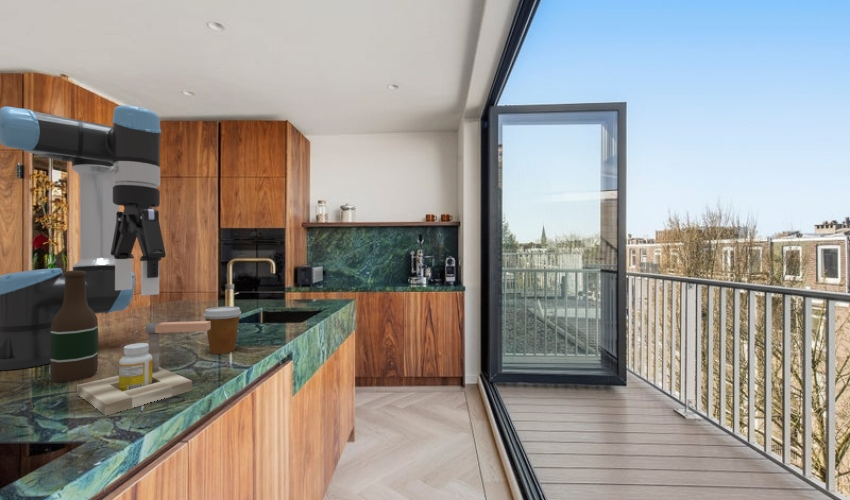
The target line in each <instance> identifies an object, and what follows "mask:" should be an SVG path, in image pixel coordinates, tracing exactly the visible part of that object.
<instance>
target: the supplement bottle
mask: <svg viewBox="0 0 850 500" xmlns="http://www.w3.org/2000/svg"><path fill="white" fill-rule="evenodd" d="M123 354H124V356H122V357H120V359H119V361H118V376H119V390H120V391H122V392H123V391H127V390H130V389H134V388H138V387H142V386H146V385H150V384H152V355H151V354H149V343H146V342H144V343H143V342H137V343H131V344H127V345H125V346H124V347H123Z"/></svg>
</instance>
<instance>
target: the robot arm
mask: <svg viewBox="0 0 850 500" xmlns="http://www.w3.org/2000/svg"><path fill="white" fill-rule="evenodd" d="M112 114H113V115H112V118H111V122H112V126H111V125H107V124H101V123H95V122H91V121H86V120H82V119H81V120H80V119H75V118H71V117H64V116H59V115H56V114H51V113H44V112H40V111H35V110H31V109H29V108H28V109H27V108H18V107H13V106H8V105H7V106H3V107H0V144H1V145H2V146H4V147H7V148H11V149H18V150H21V151H24V152H26V153H30V154H33V155H37V156H40V157H42V158H46V159H47V158H48V159H51V160H57V161H62V162H63V161H64V162H70V163H71V169H72V170H73V172H75V173H77V174H78V176H79V253H80V254H79V261H77V262H76V263H75V264H73V265H72V271H80V270H81V271H85V272H86V274H87V275H86V276H85V285H86V298H87V303H88V306H89V307H90V308H91V309H92V310H93V311H94V312H95V315H96V314H109V313H113V312H121V311H125V310H126V309H127V308H128V307H129V306H130V304H131V302H132V300H133V296H134V290H135V273H134V271H133V259H134V258H135V257H134V255H133V253H132V252H133V249H134V246H135V244H136V243H135V242H136V240H137V242H138V245H139V248H140V251H141V253H142V255H141V256H140V258H139V261H140V262H141V264H140V265H141V266H140V269H141V270H140V274H141V276H140V281H141V282H140V283H141V284H140V289H141V291H140V296H144V297H145V296H152V295H154V296H155V295H160V261H161V260H162V259H163V258H166V250H165V245H164V239H163V235H162V230H161V224H160V217H159V214H160V213H159V212H160V211H159V209H153V208H158V207H159V206H161V205H160V204H161V191H160V189H158V188H159V187H160V186H161V165H160V163H161V133H162V129H161V121H160V116H159V115H158V114H157V113H155V112H154V111H152V110H150V109H147V108H145V107H140V106H134V105H126V104H124V105H118V106H115V107H114V109H113V113H112ZM120 206H123V208H124V209H123V211H120ZM151 208H152V209H151ZM64 273H65V272H63V269H62V268H60V267H54V268H41V269H31V270H24V271H16V272H8V273H6V274H2V275H0V371H9V370H10V371H11V370H19V369H27V368H33V367H39V366H42V365H48V364H51V324H52V321H53V319H54V317H55V315H56V314H57V313H58V311H59V310H60V309H61V308H62V305H63V300H64V289H65V278H66V277H64Z"/></svg>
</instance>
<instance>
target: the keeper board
mask: <svg viewBox="0 0 850 500" xmlns="http://www.w3.org/2000/svg"><path fill="white" fill-rule="evenodd" d="M148 344H149V350H148V353H149V354H151V355H152V384H150V385H146V386H142V387H138V388H134V389H130V390H127V391H123V392H122V391H120V390H119V375H116V376H111V377H106V378H102V379H97V380H94V381H89V382H85V383H81V384H76V395H77V394H78V395H79V396H80V397H82V398H83V399H85V400H86V401H88V402H89V403H90V404H92V405H93V406H94V407H95V409H96V408H97V409H98V410H97V409H96V410H97V411H99V412H100V413H101V414H103V415H104V416H105V417H107V415H108V416H111V415H114V414H118V413H120V411H121V412H123V411H124V412H125V411H128V410H131V409H134V407H135V408H137V407H140V406H145V405H147V403H148V404H151V403H150V402H152V403H155V402H157V400H158V401H161V399H162V400H165V399H168V398H171V397H172V398H173V397H174V396H178V395H181V394H186V393H189V392H192V391H193V380H191V379H189V378H187V377H185V376H182V375H179V374H177V373H175V372H172V371H171V370H170V371H169V370H167V369H165V368H162V367H160V333H148ZM78 395H77V396H78ZM79 396H78V397H79ZM80 397H79V398H80ZM82 398H81V399H82ZM164 398H165V399H164ZM83 399H82V400H83ZM85 400H84V401H85ZM86 401H85V402H86ZM154 401H155V402H154ZM89 403H88V404H89ZM90 404H89V405H90ZM144 404H145V405H144ZM92 405H91V406H92ZM93 406H92V407H93ZM127 409H128V410H127ZM117 412H118V413H117Z"/></svg>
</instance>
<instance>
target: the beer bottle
mask: <svg viewBox="0 0 850 500" xmlns="http://www.w3.org/2000/svg"><path fill="white" fill-rule="evenodd" d="M63 273H64V277H66V278H65V289H64V300H63V305H62V308H61V309H60V310H59V311H58V313H57V314H56V315H55V317H54V319H53V321H52V324H51V363H50V380H51V381H52V382H56V383H66V382H67V383H68V381H70V382H76V381H75V380H77V381H81V380H83V379H84V378H85V379H87V378H92V377H93V376H94V375H96V373H97V372H98V368H99V366H98V365H99V360H98V359H99V322H98V317H97V315H96V314H95V312H94V311H93V310H92V309H91V308H90V307H89V306H88V303H87V298H86V285H85V276H86V275H87V274H86V272H85V271H81V270H80V271H73V270H67V271H64V272H63ZM91 376H92V377H91ZM80 379H81V380H80Z"/></svg>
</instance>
